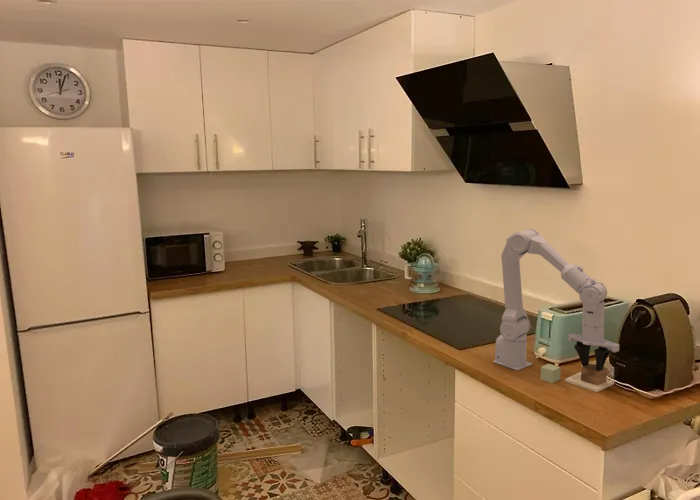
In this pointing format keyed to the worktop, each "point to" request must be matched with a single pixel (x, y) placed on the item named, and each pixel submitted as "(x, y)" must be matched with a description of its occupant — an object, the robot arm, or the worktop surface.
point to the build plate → (577, 381)
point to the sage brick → (550, 373)
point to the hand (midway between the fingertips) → (592, 369)
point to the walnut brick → (593, 374)
